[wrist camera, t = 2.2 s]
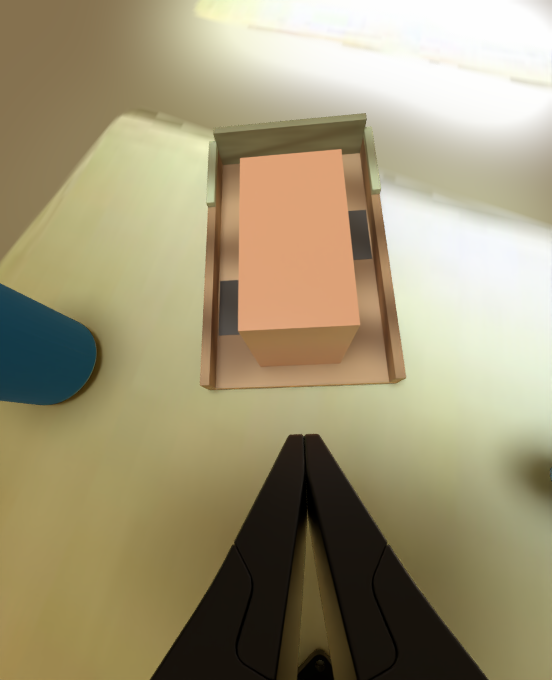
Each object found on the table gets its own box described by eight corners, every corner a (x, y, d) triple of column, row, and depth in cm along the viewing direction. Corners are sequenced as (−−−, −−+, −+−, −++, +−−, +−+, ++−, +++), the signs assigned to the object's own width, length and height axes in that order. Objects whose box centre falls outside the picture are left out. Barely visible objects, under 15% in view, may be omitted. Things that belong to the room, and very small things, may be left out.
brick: (339, 363, 22) (360, 324, 14) (260, 366, 22) (238, 331, 14) (329, 238, 24) (341, 149, 17) (259, 242, 25) (240, 158, 17)
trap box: (396, 383, 21) (413, 373, 18) (209, 389, 22) (192, 382, 19) (365, 152, 27) (373, 112, 24) (217, 164, 28) (206, 128, 25)
